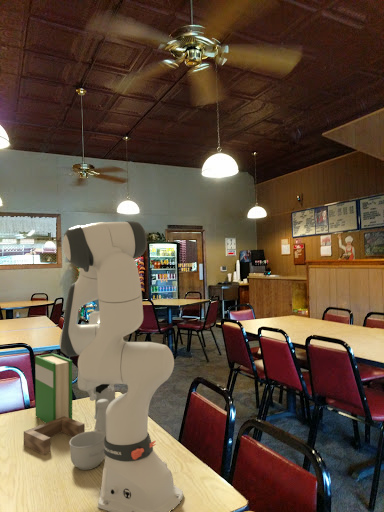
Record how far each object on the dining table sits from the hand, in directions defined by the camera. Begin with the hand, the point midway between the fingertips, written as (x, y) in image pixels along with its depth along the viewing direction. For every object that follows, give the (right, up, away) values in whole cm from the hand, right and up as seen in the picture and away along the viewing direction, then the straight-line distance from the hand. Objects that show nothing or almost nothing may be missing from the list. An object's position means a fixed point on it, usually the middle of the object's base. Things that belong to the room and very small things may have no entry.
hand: (102, 395), depth 131 cm
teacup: (+1, -14, -17) cm, 22 cm away
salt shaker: (0, -15, -1) cm, 15 cm away
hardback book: (-23, -16, +16) cm, 32 cm away
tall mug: (-5, -16, +20) cm, 26 cm away
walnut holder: (-16, -15, -3) cm, 22 cm away
